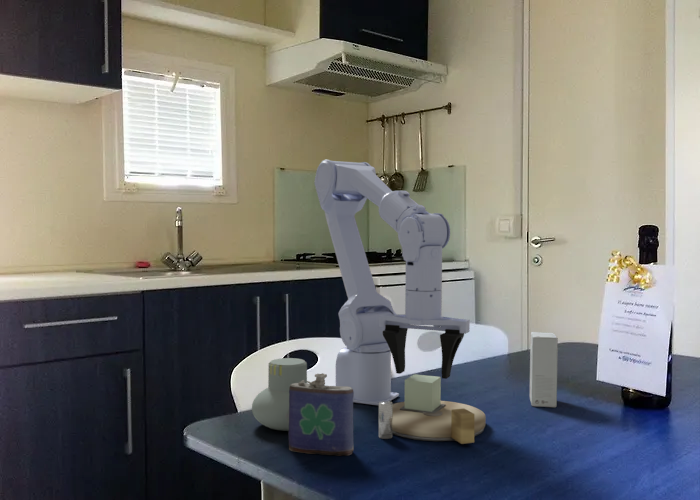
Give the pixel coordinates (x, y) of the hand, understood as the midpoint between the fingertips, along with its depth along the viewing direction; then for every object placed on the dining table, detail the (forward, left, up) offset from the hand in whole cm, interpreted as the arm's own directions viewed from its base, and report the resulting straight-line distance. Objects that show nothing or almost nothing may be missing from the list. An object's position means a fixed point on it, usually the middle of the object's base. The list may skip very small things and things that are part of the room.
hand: (422, 374), depth 106 cm
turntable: (+3, -3, -7) cm, 8 cm away
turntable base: (+3, -3, -7) cm, 8 cm away
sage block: (0, 0, -5) cm, 5 cm away
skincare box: (+16, +18, -7) cm, 25 cm away
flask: (-7, -21, -7) cm, 23 cm away
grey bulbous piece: (-17, -13, -7) cm, 23 cm away
